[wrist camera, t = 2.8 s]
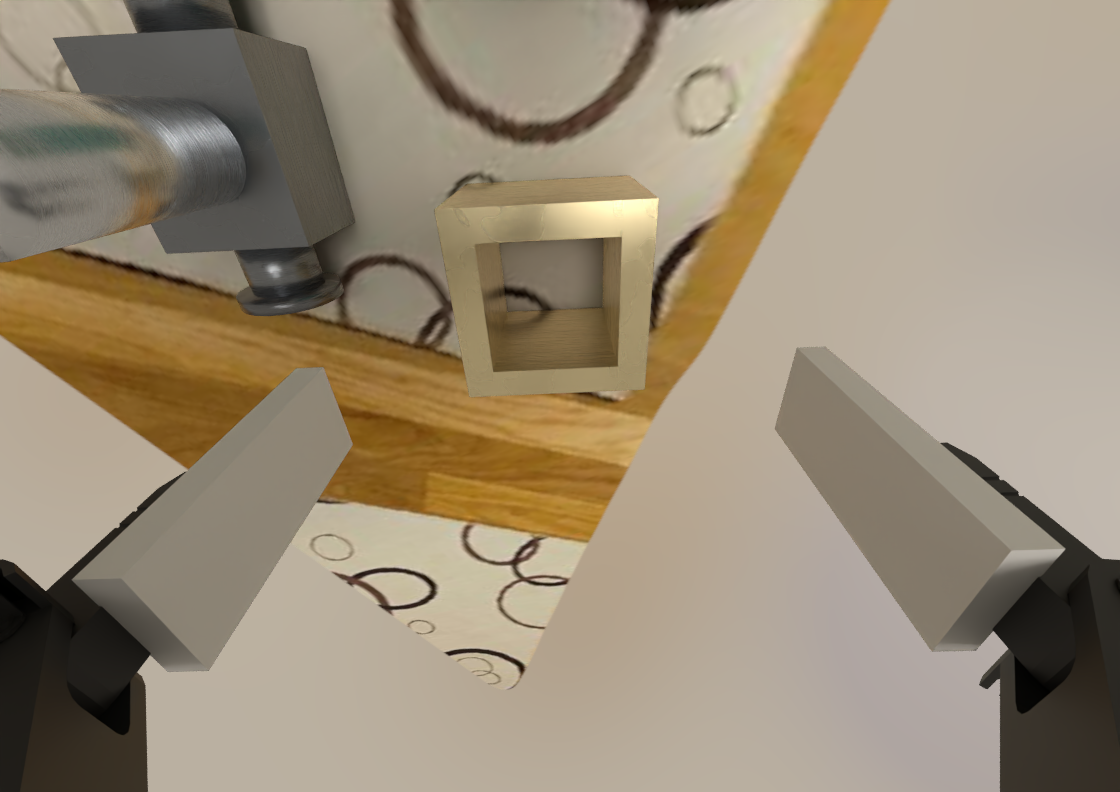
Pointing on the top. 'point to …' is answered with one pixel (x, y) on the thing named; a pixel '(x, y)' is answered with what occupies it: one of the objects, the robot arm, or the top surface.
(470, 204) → the collar
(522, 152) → the top surface
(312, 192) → the valve
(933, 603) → the robot arm
